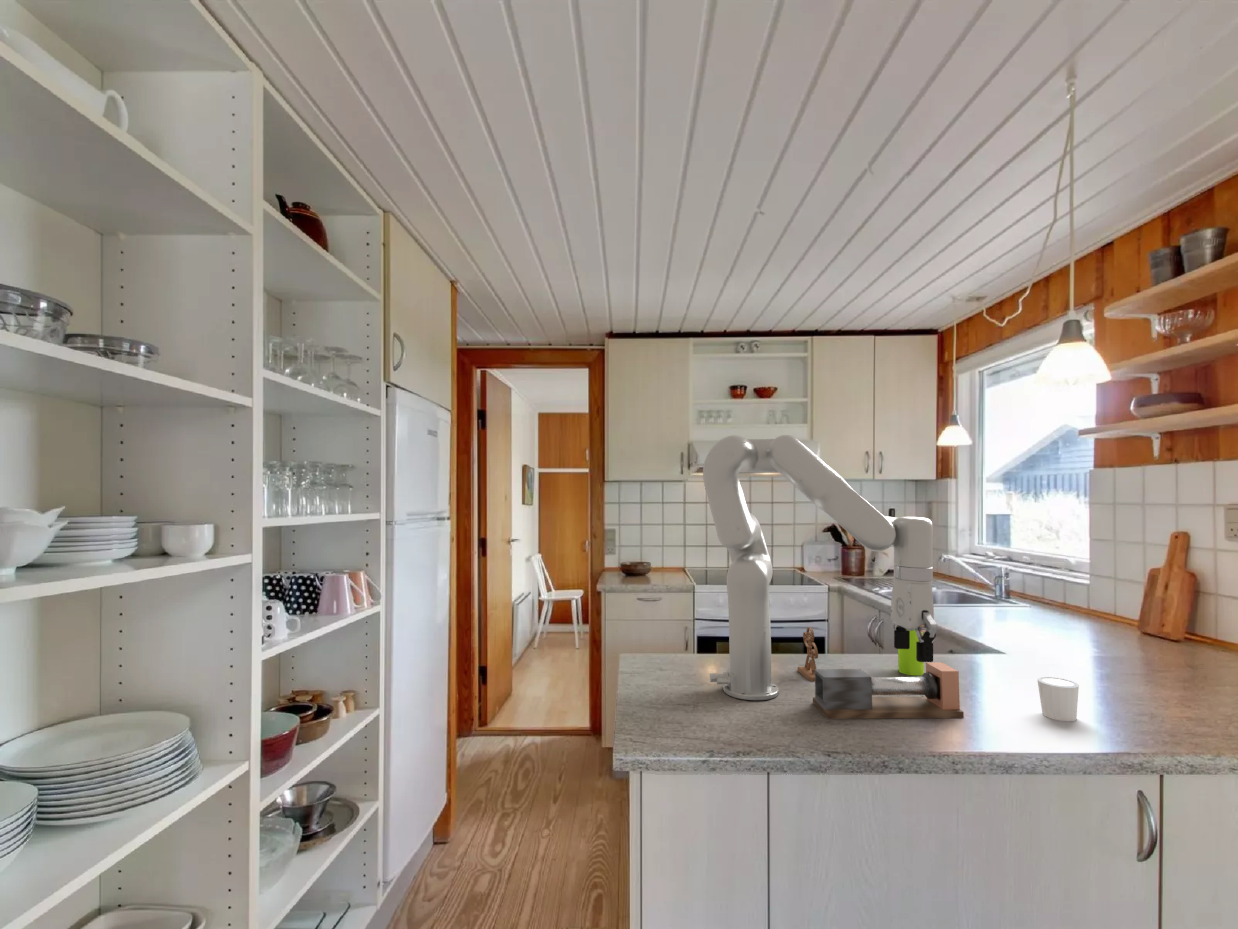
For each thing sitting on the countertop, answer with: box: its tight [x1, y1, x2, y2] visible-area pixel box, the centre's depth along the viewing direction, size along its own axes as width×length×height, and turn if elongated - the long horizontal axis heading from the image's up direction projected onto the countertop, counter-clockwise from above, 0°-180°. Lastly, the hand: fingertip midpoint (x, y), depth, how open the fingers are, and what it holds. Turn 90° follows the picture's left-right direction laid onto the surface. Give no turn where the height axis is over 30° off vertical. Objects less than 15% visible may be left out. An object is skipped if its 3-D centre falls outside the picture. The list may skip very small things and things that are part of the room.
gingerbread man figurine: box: [797, 627, 819, 682], centre depth 149 cm, size 9×4×12 cm, turn 4°
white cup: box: [1037, 676, 1080, 722], centre depth 121 cm, size 7×7×7 cm
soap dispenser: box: [897, 629, 925, 677], centre depth 151 cm, size 6×7×20 cm
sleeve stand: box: [812, 668, 965, 720], centre depth 125 cm, size 28×9×8 cm, turn 90°
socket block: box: [925, 661, 961, 710], centre depth 125 cm, size 4×6×8 cm, turn 0°
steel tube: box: [871, 672, 940, 699], centre depth 125 cm, size 21×5×5 cm, turn 90°
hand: (912, 654), depth 126 cm, fingers open, 9 cm apart
